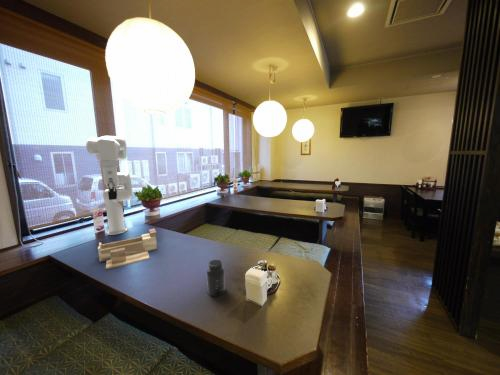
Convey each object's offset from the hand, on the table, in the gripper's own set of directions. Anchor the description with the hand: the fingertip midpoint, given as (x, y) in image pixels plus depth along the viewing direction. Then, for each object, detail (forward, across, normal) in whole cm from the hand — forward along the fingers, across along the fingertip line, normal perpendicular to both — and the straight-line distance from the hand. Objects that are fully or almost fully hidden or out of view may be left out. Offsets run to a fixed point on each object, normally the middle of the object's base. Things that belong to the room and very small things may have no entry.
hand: (113, 197), depth 104 cm
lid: (+33, -7, -4) cm, 34 cm away
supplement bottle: (+32, -55, -32) cm, 71 cm away
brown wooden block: (+25, +4, -17) cm, 30 cm away
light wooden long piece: (+32, +4, -5) cm, 33 cm away
